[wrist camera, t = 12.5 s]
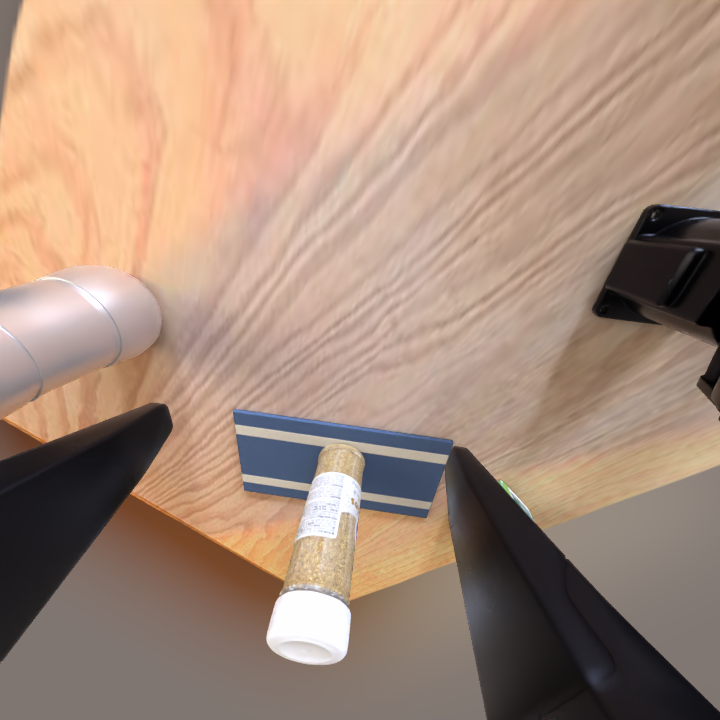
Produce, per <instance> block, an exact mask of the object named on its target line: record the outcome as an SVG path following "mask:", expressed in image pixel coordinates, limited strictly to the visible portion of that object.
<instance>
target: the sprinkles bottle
mask: <svg viewBox="0 0 720 720" xmlns="http://www.w3.org/2000/svg"><path fill="white" fill-rule="evenodd" d="M364 467H365V460H364V457H363V455H362V454H361V452H360V451H359V450H357V449H356V448H354V447H352V446H350V445H346V444H332V445H328V446H326V447H325V448H324V449H322V451H321V452H320V454H319V457H318V466H317V469H316V473H315V476H314V480H313V481H312V484H311V487H310V491H309V494H308V497H307V501H306V504H305V508H304V511H303V515H302V518H301V522H300V525H299V529H298V532H297V536H296V539H295V542H294V549H293V553H292V557H291V560H290V564H289V567H288V571H287V575H286V579H285V581H284V586H283V589H282V591H281V592H280V594H279V595H280V596H279V598H278V599H277V601H276V603H275V606H274V610H273V613H272V617H271V620H270V624H269V628H268V632H267V643H268V645H269V647H270V648H271V649H272V650H273V651H274V652H275V653H277V654H278V655H280V656H282V657H284V658H286V659H289V660H292V661H295V662H299V663H304V664H311V665H327V664H333V663H336V662H339V661H340V660H342V658H344V657H345V655H346V653H347V649H348V640H349V632H350V620H351V614H350V611H349V606H350V603H349V597H350V588H351V580H352V570H353V559H354V552H355V547H356V538H357V529H358V520H359V510H360V501H361V484H362V476H363V471H364Z"/></svg>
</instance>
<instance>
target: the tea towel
mask: <svg viewBox="0 0 720 720" xmlns="http://www.w3.org/2000/svg"><path fill="white" fill-rule="evenodd" d="M233 414H234V421H235V429H236V435H237V442H238V450H239V457H240V464H241V471H242V478H243V485H244V490H245V491H251V492H258V493H265V494H271V495H278V496H284V497H291V498H297V499H304V500H307V497H308V494H309V491H310V487H311V484H312V481H313V480H314V476H315V473H316V469H317V466H318V457H319V454H320V452H321V451H322V449H324V448H325V447H326V446H328V445H332V444H346V445H350V446H352V447H354V448H356V449H357V450H359V451H360V452H361V454H362V455H363V457H364V460H365V467H364V471H363V476H362V484H361V501H360V508H363V509H370V510H376V511H383V512H389V513H396V514H402V515H409V516H415V517H422V518H427V515H428V512H429V510H430V507H431V504H432V501H433V498H434V496H435V493H436V490H437V487H438V485H439V482H440V479H441V476H442V473H443V471H444V468H445V465H446V462H447V459H448V456H449V454H450V451H451V448H452V446H453V441H452V440H446V439H439V438H432V437H425V436H419V435H412V434H405V433H398V432H391V431H384V430H377V429H370V428H363V427H356V426H349V425H342V424H335V423H328V422H321V421H314V420H307V419H300V418H293V417H286V416H279V415H272V414H265V413H258V412H251V411H244V410H237V409H235V410H234V411H233Z"/></svg>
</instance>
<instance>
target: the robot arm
mask: <svg viewBox="0 0 720 720" xmlns="http://www.w3.org/2000/svg"><path fill="white" fill-rule="evenodd" d="M654 211H656V215H655V216H654V218H651V216H652V213H653V212H654ZM604 306H605V309H604V310H603V311H601V309H602V307H604ZM592 311H593V313H594V314H595V315H597V316H599V317H604V318H611V319H619V320H627V321H635V322H643V323H650V324H658V325H665V326H667V327H669V328H672V329H674V330H677V331H679V332H681V333H684V334H686V335H689V336H691V337H693V338H696V339H698V340H701V341H703V342H705V343H708V344H710V345H713V346H715V347H717V350H716V352H715V354H714V356H713V358H712V360H711V362H710V364H709V367H708V369H707V371H706V373H705V375H702V376H701V377H700V379H699V381H698V383H697V387H698V388H699V389H700V390H701V391H702V392H703V393H704V394H705V395H706V396H707V398H708V399H709V400H710V401H711V402H712V403H713V404H714V405H715V406H716V408H717V410H718V411H719V412H720V211H716V210H708V209H699V208H690V207H682V206H673V205H664V204H655V205H651V206H648V207H647V208H646V209H645V210H644V211H643V212H642V214H641V216H640V218H639V220H638V222H637V224H636V226H635V227H634V229H633V231H632V233H631V235H630V237H629V239H628V241H627V243H626V244H625V246H624V248H623V249H622V251H621V253H620V255H619V257H618V259H617V261H616V263H615V265H614V267H613V269H612V271H611V273H610V274H609V276H608V278H607V280H606V282H605V285H604V287H603V289H602V291H601V293H600V295H599V297H598V299H597V300H596V302H595V304H594V306H593V309H592ZM600 311H601V312H600ZM718 420H719V421H720V416H719V418H718ZM172 428H173V423H172V419H171V416H170V412H169V409H168V407H167V406H166V405H165V404H159V403H150V404H147V405H145V406H142V407H139V408H137V409H134V410H131V411H129V412H126V413H124V414H121V415H118V416H116V417H113V418H111V419H108V420H105V421H103V422H100V423H98V424H95V425H92V426H90V427H87V428H85V429H82V430H79V431H77V432H74V433H71V434H69V435H66V436H64V437H61V438H58V439H56V440H53V441H51V442H48V443H45V444H43V445H40V446H38V447H35V448H32V449H30V450H27V451H25V452H22V453H19V454H17V455H14V456H12V457H9V458H6V459H4V460H1V461H0V662H1V661H3V660H4V658H5V657H6V656H7V654H8V653H9V652H10V650H11V649H12V648H13V646H14V645H15V644H16V643H17V641H18V640H19V639H20V637H21V636H22V635H23V633H24V632H25V631H26V629H27V628H28V626H29V625H30V624H31V623H32V622H33V620H34V619H35V617H36V616H37V615H38V614H39V612H40V611H41V610H42V608H43V607H44V606H45V604H46V603H47V602H48V601H49V599H50V598H51V597H52V595H53V594H54V593H55V591H56V590H57V589H58V587H59V586H60V585H61V583H62V582H63V581H64V580H65V578H66V577H67V576H68V574H69V573H70V572H71V570H72V569H73V568H74V566H75V565H76V564H77V562H78V561H79V560H80V558H81V557H82V556H83V555H84V553H85V552H86V551H87V549H88V548H89V547H90V545H91V544H92V543H93V542H94V540H95V539H96V537H97V536H98V535H99V534H100V532H101V531H102V530H103V528H104V527H105V526H106V524H107V523H108V522H109V521H110V519H111V518H112V517H113V515H114V514H115V513H116V511H117V510H118V509H119V507H120V506H121V505H122V503H123V502H124V501H125V500H126V498H127V497H128V496H129V494H130V493H131V492H132V490H133V489H134V488H135V486H136V485H137V484H138V482H139V481H140V480H141V478H142V477H143V476H144V474H145V473H146V471H147V470H148V468H149V466H150V465H151V463H152V462H153V460H154V458H155V457H156V455H157V454H158V452H159V450H160V449H161V447H162V446H163V444H164V442H165V441H166V439H167V438H168V436H169V434H170V433H171V431H172ZM445 480H446V492H447V504H448V516H449V524H450V530H451V536H452V541H453V546H454V551H455V556H456V562H457V567H458V571H459V577H460V582H461V588H462V593H463V598H464V603H465V608H466V613H467V619H468V624H469V629H470V634H471V639H472V645H473V650H474V655H475V660H476V665H477V671H478V675H479V681H480V687H481V692H482V697H483V702H484V707H485V712H486V718H487V720H720V712H719V711H718V710H717V709H716V708H715V707H714V706H713V705H712V704H711V703H710V702H709V701H708V700H707V699H705V697H704V696H703V695H702V694H701V693H700V692H699V691H698V690H697V689H696V688H695V687H694V686H693V685H691V683H689V682H688V681H687V680H686V679H685V678H684V677H683V676H682V675H681V674H680V673H679V672H678V671H677V670H676V669H675V668H674V667H673V666H672V665H671V664H670V663H669V662H668V661H667V660H666V659H665V658H664V657H663V656H662V655H661V654H660V653H659V652H658V651H657V650H656V649H655V648H654V647H653V646H652V645H651V644H650V643H649V642H648V641H647V640H646V639H645V638H644V637H643V636H642V635H640V633H638V632H637V630H636V629H635V628H634V627H633V626H632V625H631V624H629V622H627V620H626V619H624V617H623V616H622V615H621V614H620V613H619V612H618V611H617V610H616V609H615V608H614V607H613V606H612V605H611V604H610V603H609V602H608V601H607V600H606V599H605V598H604V597H603V596H602V595H601V594H600V593H599V592H598V591H597V590H596V589H595V588H594V587H593V585H592V584H591V583H589V581H588V580H587V579H586V578H585V577H584V576H583V575H582V574H581V573H580V571H579V570H578V569H577V568H576V567H575V566H574V565H573V564H572V563H571V562H570V561H569V560H568V559H565V555H564V554H563V553H562V552H561V551H560V550H559V549H558V548H557V547H556V545H555V544H554V543H553V542H552V541H551V540H550V539H549V538H548V537H547V536H546V534H545V533H543V531H542V530H541V529H540V528H539V527H538V526H537V524H536V523H535V522H534V521H533V520H532V519H531V518H530V517H529V516H528V515H527V513H526V512H525V511H524V510H523V509H522V508H521V507H520V506H519V505H518V504H517V503H516V501H515V500H514V499H513V498H512V497H511V496H510V495H509V494H508V493H507V492H506V490H505V489H504V488H503V487H502V486H501V485H500V484H499V483H498V482H497V481H496V479H495V478H494V477H493V476H492V475H491V474H490V473H489V472H488V471H487V470H486V468H485V467H484V466H483V465H482V464H481V463H480V462H479V461H478V460H477V459H476V458H475V456H474V455H473V454H472V453H471V452H470V451H469V450H468V449H467V448H464V447H458V446H454V447H452V448H451V451H450V454H449V456H448V459H447V462H446V465H445Z"/></svg>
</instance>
